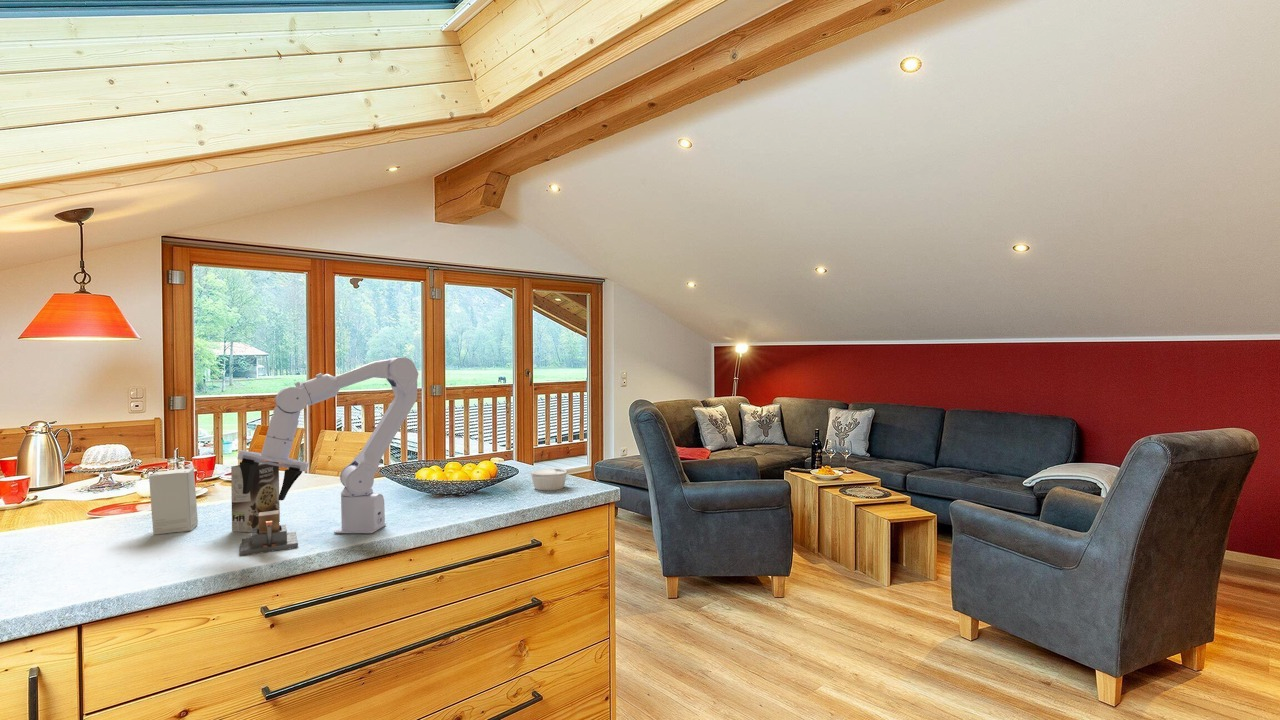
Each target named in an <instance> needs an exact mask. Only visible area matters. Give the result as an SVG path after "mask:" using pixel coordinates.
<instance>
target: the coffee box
mask: <svg viewBox="0 0 1280 720" xmlns="http://www.w3.org/2000/svg"><path fill="white" fill-rule="evenodd" d="M267 462H271V461H267ZM272 463H277V464H280V463H278V462H272ZM230 469H231V470H230V471H231V473H230V474H231V481H230V483H231V485H230V486H231V532H237V533H239V532H240V533H252V529H253V528H259V512H267V511H276V510H279V522H280V523H281V520H280V518H281V514H280V513H281V512H280V511H281V510H280V506H281V505H280V500H278V499H279V494H280V466H274V465H269V464H264V463H259V465H258V467H257V470H256V472H255V475H254V478H253V481H252V485H251V489H250V492H249V493H248V494H243V477H242V472H241V468H240V464H238V465H233V466H231V468H230Z"/></svg>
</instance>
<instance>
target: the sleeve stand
mask: <svg viewBox="0 0 1280 720" xmlns="http://www.w3.org/2000/svg"><path fill="white" fill-rule="evenodd" d="M271 525H272V521H266V526H267V533H260V534H259V528H253V529H252V532H251V537H244V538H241V543H240V549H239V550H240V551H239V552H240V553H239V554H240V555H239V556H241V555H242V556H248V555H247V554H249V555H254V554H253V553H256V554H261V553H260V552H263V553H267V552H268V551H270V552H275V550H277V551H281V549H284V550H290V549H289V548H291V549H296V547H298V548H299V541H298V540H299V539H298V535H297V531H290V532H288V529H287V524H279V527H280V531H276V532H271Z"/></svg>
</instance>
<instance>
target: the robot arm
mask: <svg viewBox="0 0 1280 720" xmlns="http://www.w3.org/2000/svg"><path fill="white" fill-rule="evenodd" d="M374 378H376V379H386V381H388V383H389V384H390V386H391V390H392V393H393V396H394V397H393V399H392V401H391V402H390V404H389V406H388V408H387V409H386V410H385V412H384V414H383V415H382V417H381V418H380V420H379V422H378V423H377V425H376V427H375V428H374V429H373V432H372V433H371V435H370V437H369V438H368V440H367V441H366V443H365V445H364V446H363V448H362V449H361V451H360V452H359V453H357V455H356V456H355V457H354V458H353V460H352V461H351V462H350V463H348V465H346V466H345V467H343V468H342V469H341V472H340V475H339V480H340V483H341V485H343V486H344V487H343V490H342V491H341V492H340V499H341V500H340V509H341V511H340V513H341V519H340V521H341V527H340V528H337V529H336V530H334V532H333V534H373V533H375V532H377V531H379V530H380V529H382V528H384V527H385V526H387V523H386V522H385V521H386V519H385V518H386V517H385V512H386V510H385V508H386V507H385V497H384V495H383V494H382V493H376V492H374V488H372V487H373V486H374V483H375V482H374V481H375V477H376V476H375V475H376V474H377V472H378V470H379V466H380V461H381V460H382V459H383V457H384V455H385V453H386V451H387V449H388V448H389V446H390V444H392V441H393V439H394V438H395V436H396V435H397V434H398V432H399V430H400V428H401V427H402V425H403V423H404V422H405V420H406V419H407V417H408V415H409V414H410V412H411V410H412V408H413V407H414V405H415V403H416V401H417V399H418V378H419V372H418V368H417V366H416V365H415V363H414V362H413V360H412V359H410V358H408V357H407V356H406V357H405V356H401V357H398V356H393V357H390V358H388V359H387V358H386V359H381V360H376V361H372V362H369V363H367V364H364V365H361V366H358V367H357V368H354V369H352V370H348V371H346V372H343V373H340V374H338V375H336V376H335V375H334V376H333V375H331V374H329V373H325V374H323V373H322V372H320V373H318V374H315V377H314V378H311V379H307V380H306V381H302V382H300V381H296V382H294V385H295V386H288V387H284V388H281V389H280V390H279V392H277V395H275V396H274V401H275V407H274V409H273V412H272V413H273V414H272V416H271V417H270V421H269V425H268V428H267V432H266V435H265V439H264V442H263V446H262V449H261V452H255V451H248V450H239V452H238V456H237V457H236V458H237V460H241V461H239V465H240V468H241V472H242V477H243V494H248V493H249V492H250V489H251V485H252V481H253V478H254V475H255V472H256V470H257V467H258V465H259V463H264V464H269V465H274V466H279V468H286V469H285V470H284V473H283V474H284V475H283V479H282V480H283V481H282V486H281V489H280V490H279V499H278V500H279V501H284V500H285V499H286V497H287V494H288V492H289V491H290V489H291V488H292V486H293V485H294V483H296V481H297V479H298V478H299V477H300V476H301V475H302V473H303V472H307V471H308V468H309V464H310V462H307V461H302V460H298V459H294V458H290V455H291V450H292V449H293V443H294V439H295V436H296V434H297V433H296V432H297V429H298V426H299V418H300V414H301V411H302V410H303V409H304V408H305V407H306V405H307V406H308V407H309V406H312V405H313V406H314V405H315V404H319V403H320V402H323V401H326V400H329V399H330V398H335V397H336V396H337V395H338V394H339V391H340V390H341V389H342V388H343V389H344V388H345V387H349V386H352V385H355V384H357V383H361V382H364V381H366V380H369V379H374ZM267 461H271V462H267ZM272 462H278V463H279V464H277V463H272Z"/></svg>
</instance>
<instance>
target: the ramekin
mask: <svg viewBox="0 0 1280 720" xmlns="http://www.w3.org/2000/svg"><path fill="white" fill-rule="evenodd" d="M530 475H531V477H532V484H533V488H534V489H536V490H538V491H546V490H547V491H549V490H550V491H557V490H561V489H563V488H564V487H565V485H566V481H567V480H566V478H567V475H568V472H567V470H566V469H563V468H562V469H561V468H538V469H535V470H532V471H531V472H530ZM550 491H549V492H550Z"/></svg>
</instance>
